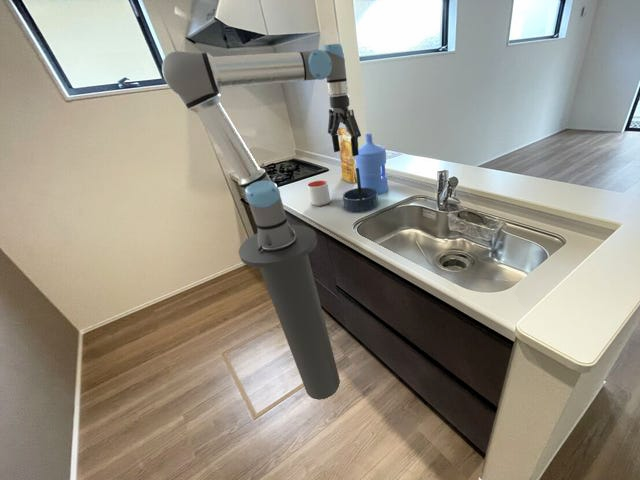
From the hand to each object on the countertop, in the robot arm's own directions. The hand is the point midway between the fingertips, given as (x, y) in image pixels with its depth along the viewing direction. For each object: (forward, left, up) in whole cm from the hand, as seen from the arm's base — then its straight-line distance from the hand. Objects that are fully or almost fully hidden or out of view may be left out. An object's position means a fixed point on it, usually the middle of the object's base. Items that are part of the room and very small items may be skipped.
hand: (346, 153), depth 126 cm
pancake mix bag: (+27, +40, -26) cm, 55 cm away
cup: (-5, +22, -26) cm, 34 cm away
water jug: (+23, +13, -26) cm, 37 cm away
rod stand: (+6, +2, -25) cm, 26 cm away
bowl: (+6, +2, -26) cm, 26 cm away
